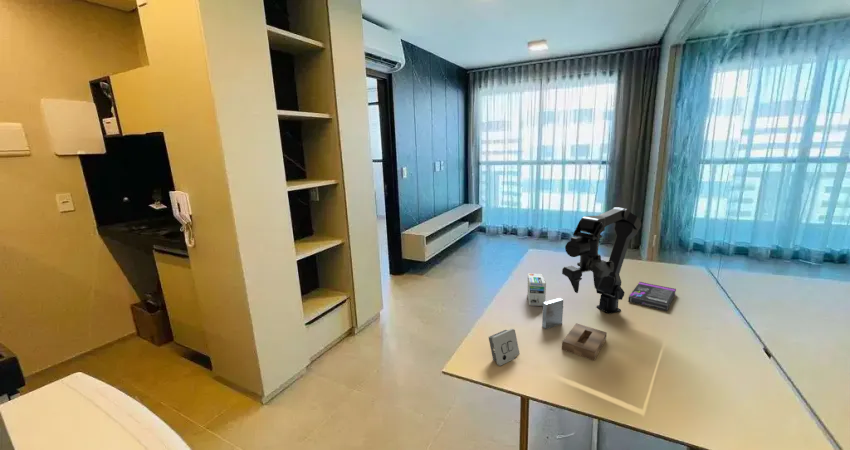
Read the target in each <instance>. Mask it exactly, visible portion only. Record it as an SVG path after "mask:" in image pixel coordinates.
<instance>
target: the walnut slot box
mask: <svg viewBox="0 0 850 450" xmlns="http://www.w3.org/2000/svg"><path fill="white" fill-rule="evenodd" d="M607 334H608V332H606V331H605V330H604V331H603V330H600V329H596V328H593V327H591V326H587V325H583V324H580V323H575V324H574V325H573V326H572V328H571V329H570V330H569V332H568V333H567V334H566V336H565V337H564V338H563V340H561V350H563V351H566V352H569V353H571V354H574V355H577V356H580V357H583V358H586V359H587V360H591V361H595V360H596V358H597V357H598V355H599V353H600V351H601V350H602V348H603V346H604V344H605V343H606V341H607Z"/></svg>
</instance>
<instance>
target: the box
mask: <svg viewBox="0 0 850 450" xmlns="http://www.w3.org/2000/svg"><path fill="white" fill-rule="evenodd" d="M676 292H677V289H676V288H673V287H667V286H663V285H657V284H653V283H648V282H647V283H646V282H643V281H639V282H638V283H637V285H636V286H635V287H634V289H633V290H632V292H631V293H630V294H629V295H628V301H627V302H628V303H633V304H637V305H641V306H645V307H649V308H652V309H657V310H660V311H664V312H668V310H669V309H670V307H671V304H672V302H673V301H674V298H675V296H676Z"/></svg>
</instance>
